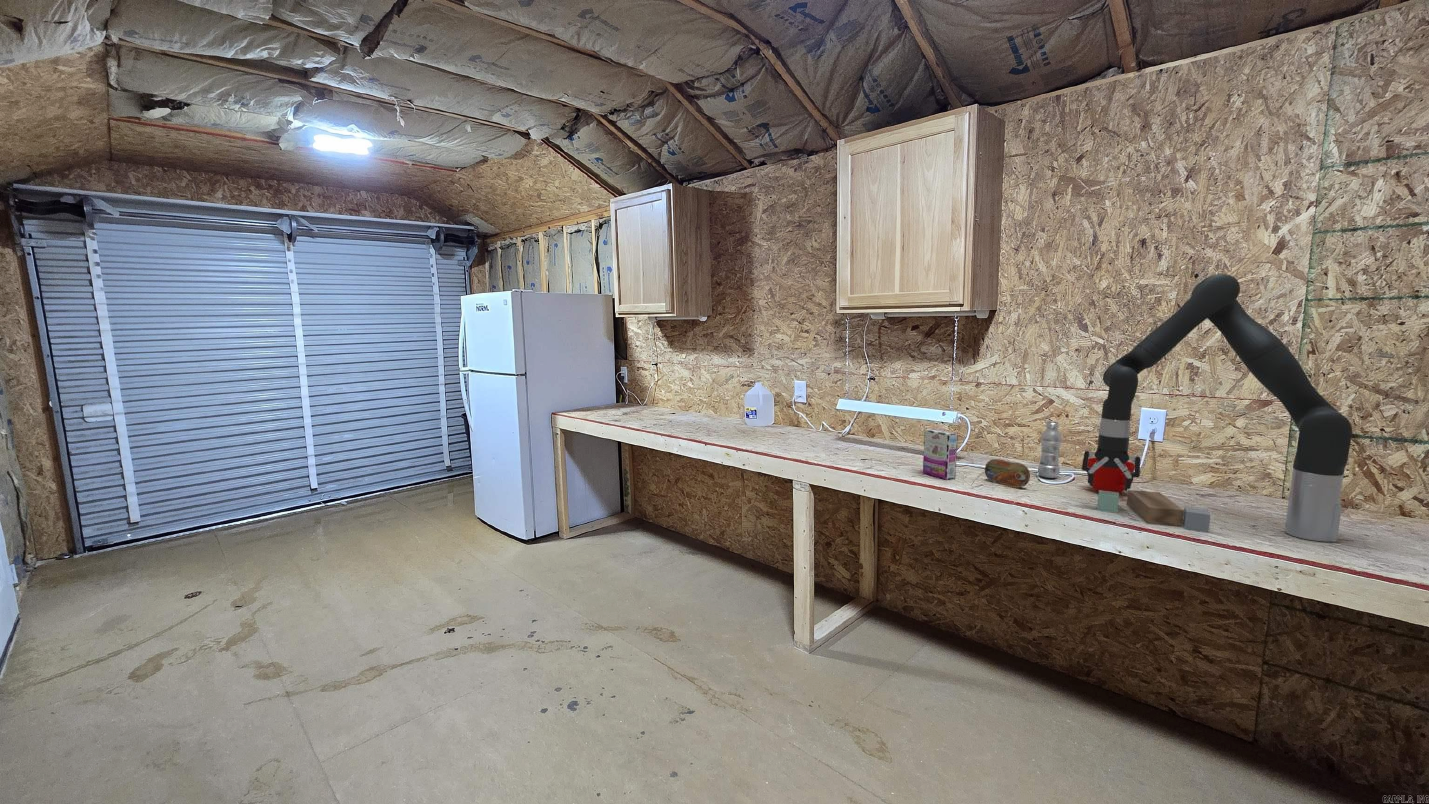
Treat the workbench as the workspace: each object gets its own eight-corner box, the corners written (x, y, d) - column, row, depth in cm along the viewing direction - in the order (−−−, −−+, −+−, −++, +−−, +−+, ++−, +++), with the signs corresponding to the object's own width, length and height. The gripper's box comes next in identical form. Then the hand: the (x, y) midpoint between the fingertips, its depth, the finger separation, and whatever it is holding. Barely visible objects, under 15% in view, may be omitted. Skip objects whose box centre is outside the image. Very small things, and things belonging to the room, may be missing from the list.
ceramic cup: (1108, 501, 185) (1111, 470, 184) (1076, 486, 202) (1078, 457, 201) (1150, 501, 185) (1153, 470, 184) (1114, 486, 202) (1117, 457, 201)
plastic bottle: (1039, 474, 218) (1043, 420, 215) (1060, 477, 214) (1065, 422, 211) (1035, 477, 213) (1039, 422, 210) (1057, 481, 209) (1061, 424, 206)
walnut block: (1157, 508, 180) (1159, 492, 179) (1182, 528, 163) (1184, 510, 162) (1126, 505, 182) (1128, 489, 182) (1147, 524, 166) (1149, 507, 165)
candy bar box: (956, 478, 212) (958, 433, 210) (946, 480, 210) (948, 434, 207) (931, 471, 222) (933, 428, 219) (921, 473, 219) (924, 429, 217)
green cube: (1117, 508, 179) (1118, 492, 178) (1117, 513, 174) (1119, 496, 174) (1097, 506, 181) (1098, 490, 181) (1097, 510, 177) (1098, 494, 176)
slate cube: (1205, 527, 163) (1208, 509, 162) (1208, 533, 158) (1210, 514, 158) (1182, 524, 165) (1184, 506, 165) (1184, 529, 161) (1186, 511, 161)
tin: (983, 480, 210) (985, 456, 209) (988, 479, 212) (990, 455, 210) (1025, 490, 197) (1027, 465, 196) (1030, 489, 199) (1032, 464, 198)
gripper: (1143, 434, 174) (1137, 488, 176) (1086, 429, 182) (1080, 481, 184) (1144, 439, 168) (1137, 494, 170) (1084, 433, 176) (1079, 486, 178)
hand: (1108, 487), depth 177 cm, fingers open, 8 cm apart
